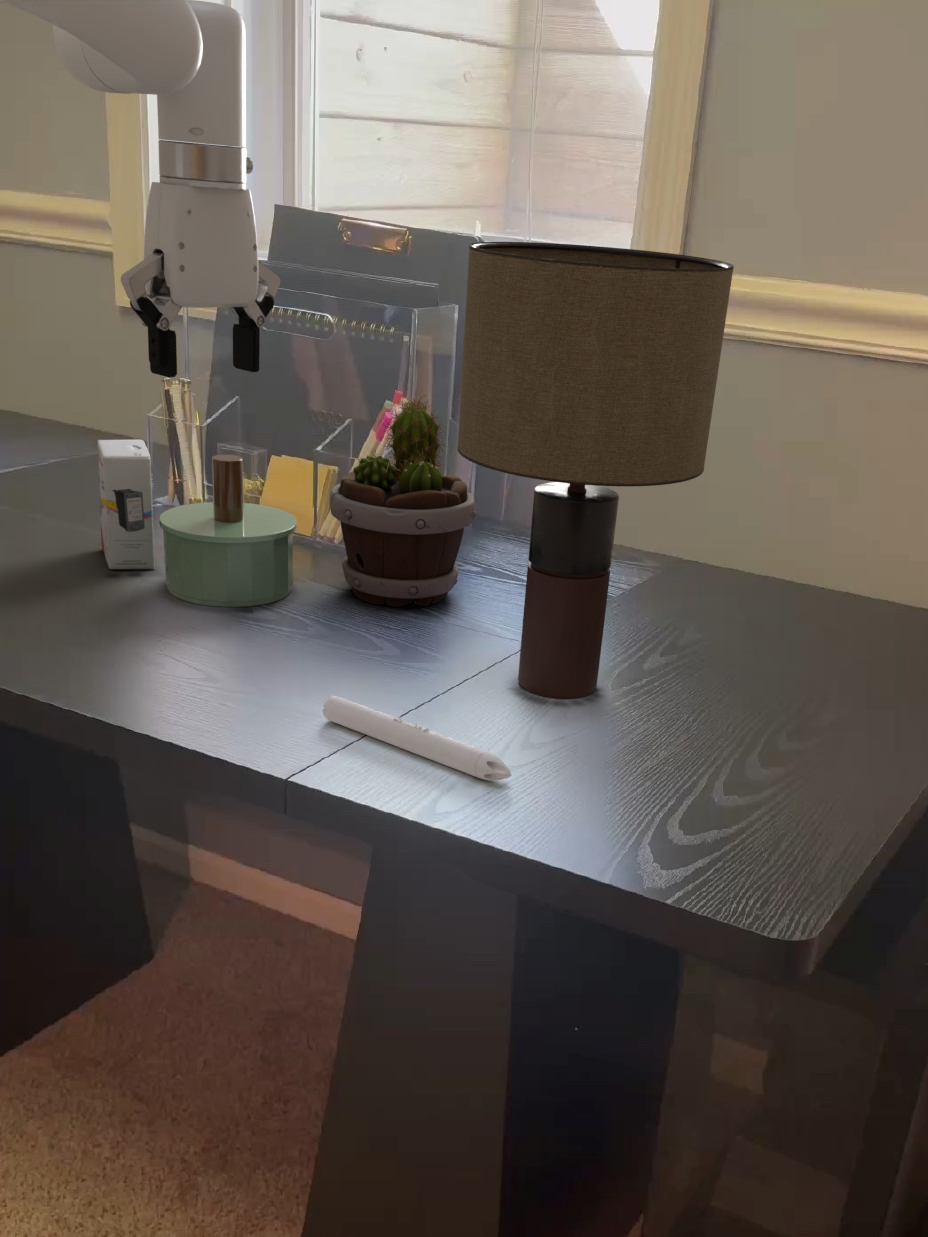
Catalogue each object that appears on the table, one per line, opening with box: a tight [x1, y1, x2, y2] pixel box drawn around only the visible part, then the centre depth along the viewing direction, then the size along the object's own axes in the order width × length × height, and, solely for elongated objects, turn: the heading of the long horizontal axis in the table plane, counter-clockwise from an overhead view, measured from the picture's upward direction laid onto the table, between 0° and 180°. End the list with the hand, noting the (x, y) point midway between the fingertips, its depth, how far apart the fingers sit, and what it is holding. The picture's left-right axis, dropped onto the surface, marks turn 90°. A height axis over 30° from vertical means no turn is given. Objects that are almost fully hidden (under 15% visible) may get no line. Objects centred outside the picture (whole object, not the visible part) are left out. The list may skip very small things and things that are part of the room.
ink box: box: [97, 438, 156, 570], centre depth 137 cm, size 9×5×12 cm, turn 19°
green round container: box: [162, 529, 294, 608], centre depth 132 cm, size 13×13×6 cm
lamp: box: [457, 241, 735, 699], centre depth 107 cm, size 20×20×35 cm
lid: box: [158, 454, 298, 543], centre depth 129 cm, size 14×14×7 cm
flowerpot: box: [329, 387, 478, 608], centre depth 131 cm, size 14×15×20 cm
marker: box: [322, 695, 513, 782], centre depth 100 cm, size 18×2×2 cm, turn 53°
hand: (206, 372), depth 122 cm, fingers open, 9 cm apart
